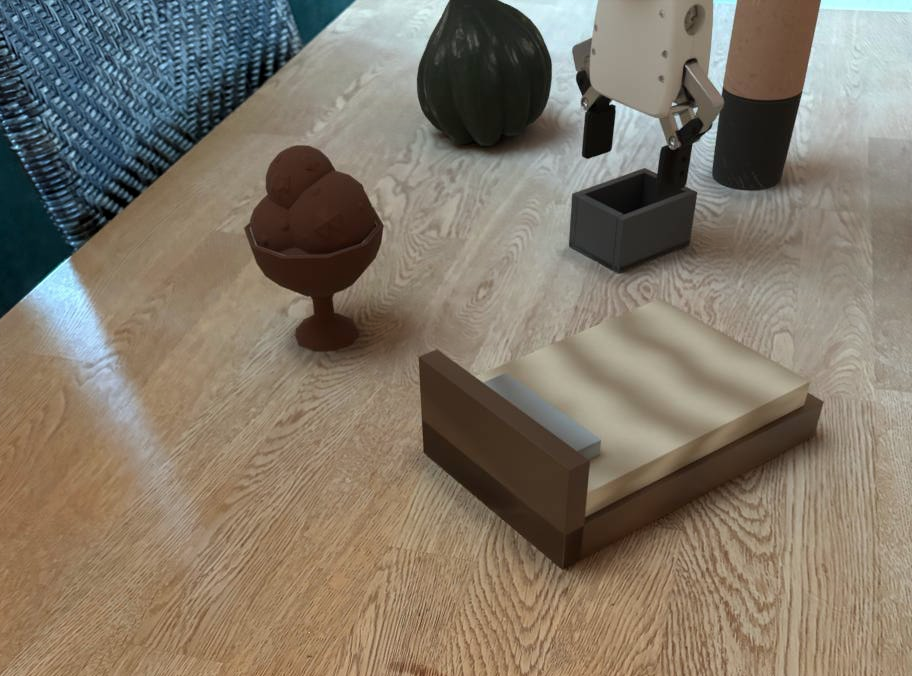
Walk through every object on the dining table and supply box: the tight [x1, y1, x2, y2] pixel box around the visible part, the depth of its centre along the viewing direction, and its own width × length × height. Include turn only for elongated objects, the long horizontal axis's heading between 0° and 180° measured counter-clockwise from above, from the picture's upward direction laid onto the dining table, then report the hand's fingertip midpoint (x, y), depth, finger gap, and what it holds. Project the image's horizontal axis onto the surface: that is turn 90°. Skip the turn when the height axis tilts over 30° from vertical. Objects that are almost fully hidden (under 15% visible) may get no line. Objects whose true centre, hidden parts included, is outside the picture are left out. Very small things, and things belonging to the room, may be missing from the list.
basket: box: [568, 167, 698, 274], centre depth 95 cm, size 9×7×5 cm
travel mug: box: [711, 0, 822, 191], centre depth 99 cm, size 8×8×20 cm
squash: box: [416, 0, 553, 147], centre depth 113 cm, size 14×15×15 cm
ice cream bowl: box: [243, 144, 385, 352], centre depth 82 cm, size 11×11×15 cm
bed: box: [418, 298, 825, 570], centre depth 72 cm, size 24×16×8 cm, turn 125°
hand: (632, 172), depth 92 cm, fingers open, 9 cm apart
